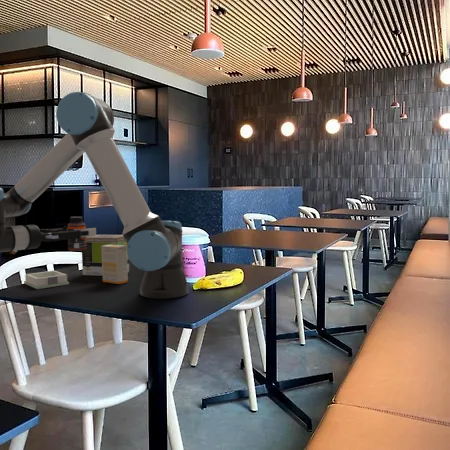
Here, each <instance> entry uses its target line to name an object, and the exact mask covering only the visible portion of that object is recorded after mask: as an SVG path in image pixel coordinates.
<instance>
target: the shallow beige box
mask: <svg viewBox="0 0 450 450" xmlns="http://www.w3.org/2000/svg"><path fill="white" fill-rule="evenodd" d="M24 278H25V280H24V281H23V283H24V284H25V285H26V286H29V287H31V288H34V289H36V290H41V289H46V288H53V287H59V286H65V285H70V282H69V281H68V274H67V273H63V272H61V271H57V270H47V271H41V272H40V271H39V272H33V273H26V274H25V276H24Z"/></svg>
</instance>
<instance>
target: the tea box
mask: <svg viewBox="0 0 450 450" xmlns="http://www.w3.org/2000/svg"><path fill="white" fill-rule="evenodd" d="M109 244H114V245H125V246H127V247H128V244H127V242H126V240H125V239H124V237H123V235H122V234H96V236H91V237H86V250H83V251H81V264H82V275H83V276H102V277H103V275H102V250H101V246H103V245H109ZM127 271H128V273H129V272H130V259H129V257H128V253H127Z"/></svg>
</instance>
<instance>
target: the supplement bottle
mask: <svg viewBox="0 0 450 450" xmlns="http://www.w3.org/2000/svg"><path fill="white" fill-rule="evenodd" d="M69 218H70V219H69V221H70V222H69V223H68V224H67V228H68V231H72V230H78V229H87V227H86V225H87V224H86V223H84V220H83V216H70V217H69ZM67 250H68V251H70V252H82V251H83V250H86V237H82V238H80V240H78V239H69V240H67Z"/></svg>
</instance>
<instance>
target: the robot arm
mask: <svg viewBox="0 0 450 450" xmlns="http://www.w3.org/2000/svg"><path fill="white" fill-rule="evenodd" d="M55 112H56V115H55V116H56V117H55V118H56V120H57V121H56V122H57V123H58V125H59V127H60V128H61V129H62V130H63V131H64V132H65V135H64V136H63V137H62V138H61V139H60V140H59V141H58V142H57V143H56V144H55V145H54V146H53V147H52V148H51V149H50V150H49V151H48V152H47V153H46V154H45V155H44V156H43V157H42V158H41V159H40V160H39V161H37V163H36V164H35V165H34V166H33V167H32V168H30V169H29V171H27V173H26V174H25V175H23V176H22V177H21V178H20V180H19V181H17V182H16V183H15V185H13V186H12V187H11V188H10V189H9V190H8V191H7V192H4V189H3V188H2V187H0V253H5V252H6V253H7V252H12V251H13V253H17V252H18V251H22V250H24V251H25V250H34V249H38V248H39V247H40V246H41V244H42V242H44V243H50V242H58V241H68V240H69V239H78V240H80V238H82V237H91V236H96V235H97V227H92V228H91V227H90V228H86V229H78V230H72V231H68V227H67V226H66V225H63V226H62V227H58V228H46V229H45V228H41V229H40V228H39V226H38V225H36V224H26V225H12V226H10V225H9V226H6V218H11V217H19V216H20V217H21V216H22V215H25V214H27V213H29V211H30V210H31V208H32V204H33V202H35V200H37V199H38V198H39V197H40V196H42V194H43V193H44V192H45V191H47V189H48V188H49V187H51V186H52V184H53V183H55V181H57V179H58V178H59V177H60V176H62V174H63V173H64V172H66V171H67V170H68V168H70V167H71V166H72V165H73V164H74V163H75V162H76V161H77V160H78V159H80V158H81V157H82V155H83V154H85V155H86V156H87V158H88V160H89V162H90V163H91V165H92V167H93V170H94V171H95V173H96V175H97V177H98V179H99V181H100V183H101V185H102V187H103V189H104V191H105V192H106V194H107V196H108V199H109V200H110V202H111V204H112V206H113V208H114V210H115V212H116V213H117V215H118V217H119V219H120V221H121V223H122V225H123V231H122V234H121V235H123V237H124V239H125V240H126V242H127V244H128V247H127V253H128V257H129V262H130V263H132V265H133V266H135V267H136V268H137V269H139V270H140V271H141V270H142V271H144V274H143V277H142V280H141V284H140V288H139V291H140V293H139V294H140V296H142V297H144V298H147V299H158V300H163V299H164V300H167V299H174V298H175V299H177V298H180V297H181V298H182V297H184V296H187V295H188V294H189V284H188V281H187V277H186V275H185V271H184V267H183V229H182V227H183V225H182V223H181V222H180V221H176V220H162V219H161V216H159V215H158V214H156V213H152V211H151V209H150V207H149V206H148V204H147V202H146V200H145V198H144V196H143V193H142V192H141V191H140V189H139V188H140V187H139V186H138V184H137V182H136V181H135V178H134V177H133V175H132V173H131V171H130V169H129V167H128V165H127V163H126V162H125V158H123V155H122V154H121V151H120V150H119V147H118V145H117V144H116V142H115V139H114V135H115V129H114V124H115V116H114V112H113V109H112V108H111V106H110V105H109V104H108V103H107V102H106V101H104V100H103V99H100V98H97V97H95V96H93V95H91V94H89V93H87V92H81V91H74V92H73V91H72V92H69V93H67V94H66V95H65V96H63V97H62V98H61V100H60V101H59V102H58V105H57V107H56V110H55ZM64 174H65V173H64Z"/></svg>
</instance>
